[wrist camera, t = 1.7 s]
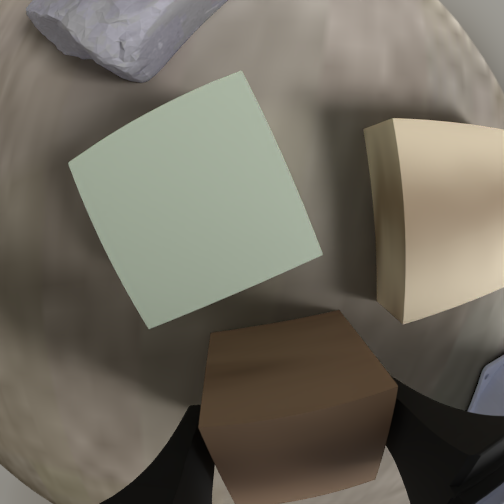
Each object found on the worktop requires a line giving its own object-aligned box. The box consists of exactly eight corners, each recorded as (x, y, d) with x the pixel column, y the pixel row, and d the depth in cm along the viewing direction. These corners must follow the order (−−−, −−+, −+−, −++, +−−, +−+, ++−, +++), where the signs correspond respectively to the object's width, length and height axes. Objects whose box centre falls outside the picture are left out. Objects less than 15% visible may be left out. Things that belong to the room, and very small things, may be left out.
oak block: (479, 268, 14) (512, 283, 11) (373, 298, 13) (403, 324, 10) (474, 134, 12) (511, 131, 9) (359, 130, 11) (392, 118, 9)
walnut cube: (339, 400, 14) (375, 479, 9) (235, 420, 14) (237, 508, 8) (338, 309, 13) (398, 386, 7) (210, 331, 13) (198, 427, 7)
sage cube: (288, 226, 12) (322, 254, 7) (180, 274, 12) (148, 329, 7) (238, 115, 11) (241, 70, 6) (130, 168, 11) (68, 162, 6)
